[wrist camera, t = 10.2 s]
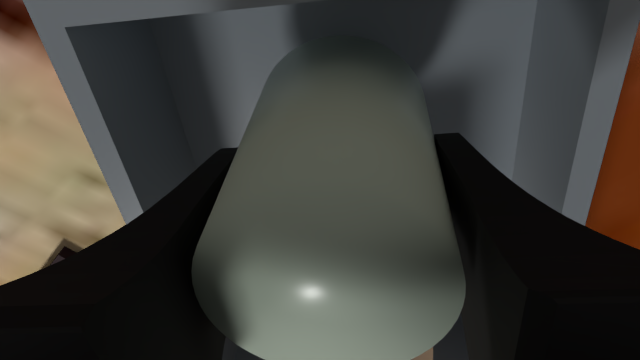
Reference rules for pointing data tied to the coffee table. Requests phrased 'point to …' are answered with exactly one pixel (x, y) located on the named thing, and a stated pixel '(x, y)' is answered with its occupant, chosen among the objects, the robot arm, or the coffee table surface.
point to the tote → (354, 20)
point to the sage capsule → (333, 215)
